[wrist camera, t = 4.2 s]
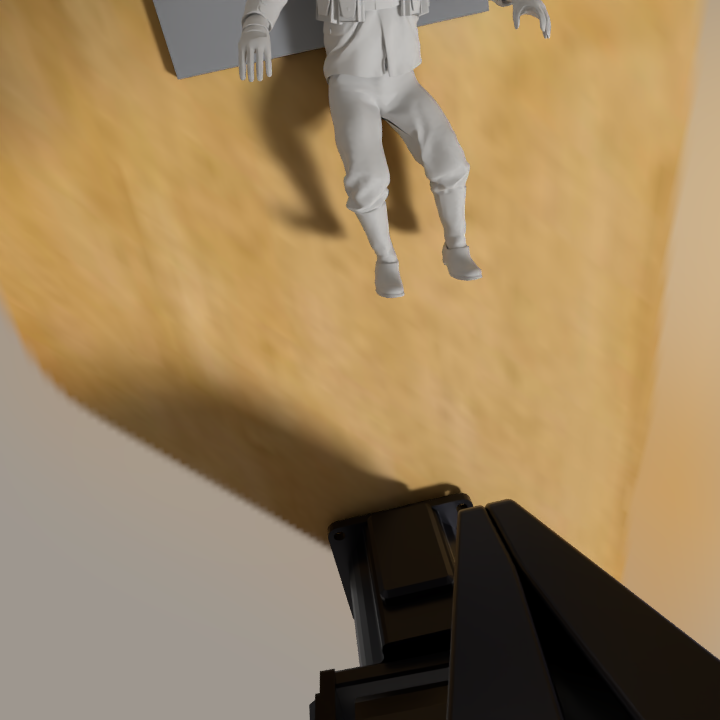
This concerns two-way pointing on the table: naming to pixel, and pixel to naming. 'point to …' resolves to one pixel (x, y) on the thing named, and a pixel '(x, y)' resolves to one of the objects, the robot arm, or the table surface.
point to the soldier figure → (383, 113)
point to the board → (288, 36)
